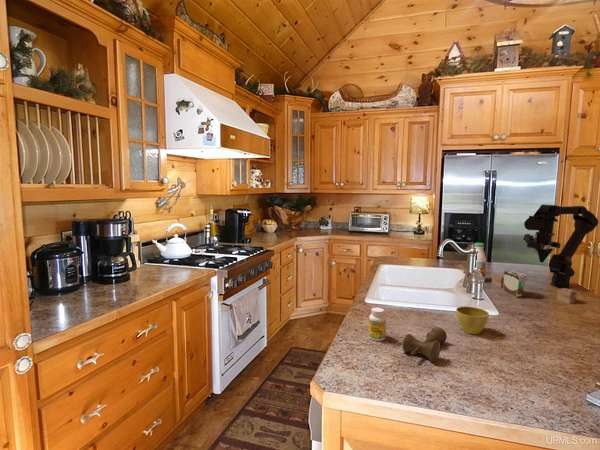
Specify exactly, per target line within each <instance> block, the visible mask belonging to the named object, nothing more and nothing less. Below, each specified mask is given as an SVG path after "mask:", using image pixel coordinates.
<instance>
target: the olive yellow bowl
mask: <svg viewBox="0 0 600 450" xmlns="http://www.w3.org/2000/svg"><path fill="white" fill-rule="evenodd" d="M455 312H456V317H457V320H458V323H459V325H460V328H461V329H462V331H463V332H464V333H467V334H470V335H478V334H480V333H481V331H483V329H484V327H486V324H487V322H488V319H489V316H490V313H489V312H488V311H487V310H485V309H482V308H479V307H475V306H459V307H457V308H456V309H455Z"/></svg>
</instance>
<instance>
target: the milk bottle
mask: <svg viewBox="0 0 600 450" xmlns="http://www.w3.org/2000/svg"><path fill="white" fill-rule="evenodd" d="M474 245H475V247H476V248H477V250H478V253H477V260H476V268H479V269H480V270H481V273H482V275H483V278H484V282H485V280H486V274H487V273H486V272H487V271H486V270H487V257H486V254H485V251H484V248H485V243H483V242H475V243H474V244H473V246H474ZM475 247H474V248H475Z"/></svg>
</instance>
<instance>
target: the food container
mask: <svg viewBox="0 0 600 450" xmlns="http://www.w3.org/2000/svg"><path fill="white" fill-rule="evenodd" d="M502 275H504V287H503V292H504V293H506V294H507V295H509V296H510V297H513V298H515V299H520V298H523V295H524V289H525V283H526V281H528V278H527V275H526V274H525V273H522V272H519V271H512V270H503V273H502Z"/></svg>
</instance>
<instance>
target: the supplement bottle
mask: <svg viewBox="0 0 600 450" xmlns="http://www.w3.org/2000/svg"><path fill="white" fill-rule="evenodd" d="M370 313H371V314H370V315H368V337H369V339H370V340H373V341H376V342H380V341H384V340H385V339H386V331H387V330H386V329H387V318H386V316H385V309H384V308H381V307H372V308H371V312H370Z"/></svg>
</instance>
